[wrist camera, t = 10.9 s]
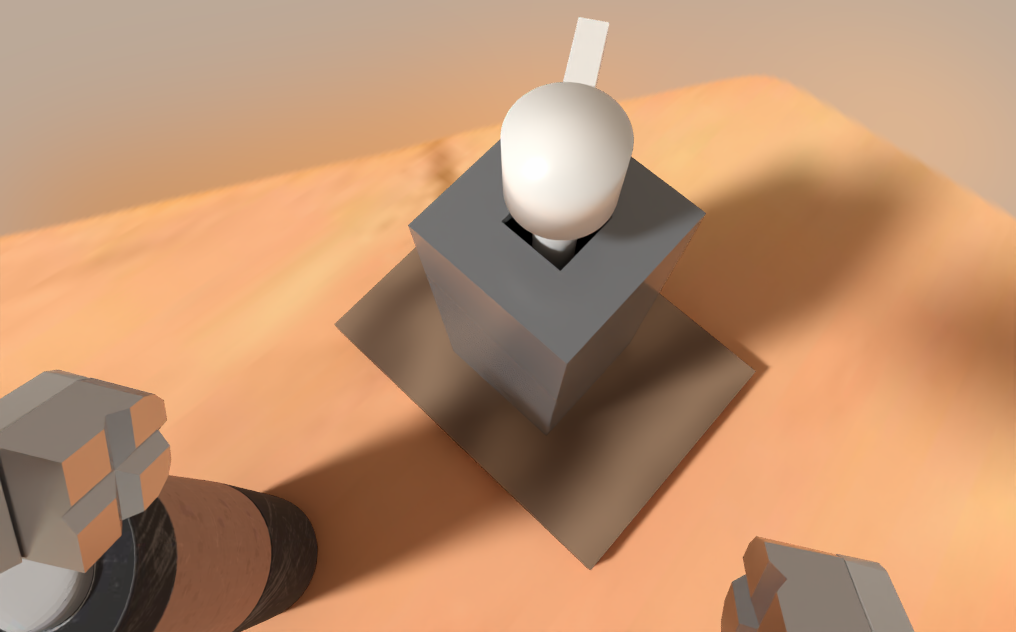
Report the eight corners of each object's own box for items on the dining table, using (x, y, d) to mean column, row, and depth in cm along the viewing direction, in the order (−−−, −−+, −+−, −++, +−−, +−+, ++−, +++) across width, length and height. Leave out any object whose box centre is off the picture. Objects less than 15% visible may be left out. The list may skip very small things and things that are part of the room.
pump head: (632, 262, 33) (704, 89, 20) (551, 348, 31) (573, 222, 19) (562, 206, 34) (589, 7, 21) (481, 287, 32) (456, 128, 20)
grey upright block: (629, 343, 42) (706, 213, 25) (546, 436, 40) (566, 364, 23) (537, 266, 44) (548, 94, 26) (453, 350, 42) (408, 225, 25)
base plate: (747, 376, 42) (755, 371, 41) (587, 568, 39) (590, 570, 37) (501, 176, 47) (501, 165, 46) (340, 331, 44) (334, 324, 42)
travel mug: (279, 465, 41) (73, 408, 22) (347, 566, 39) (186, 598, 20) (173, 546, 40) (-143, 559, 21) (239, 655, 38) (-44, 779, 19)
